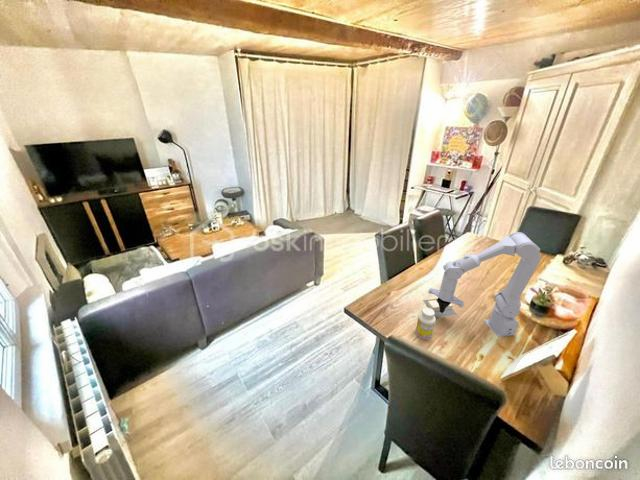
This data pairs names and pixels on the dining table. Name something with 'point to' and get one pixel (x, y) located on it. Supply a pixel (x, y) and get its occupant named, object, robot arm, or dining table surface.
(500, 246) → the robot arm
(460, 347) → the dining table surface
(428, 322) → the supplement bottle
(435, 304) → the slab
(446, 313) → the mat
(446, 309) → the slab
